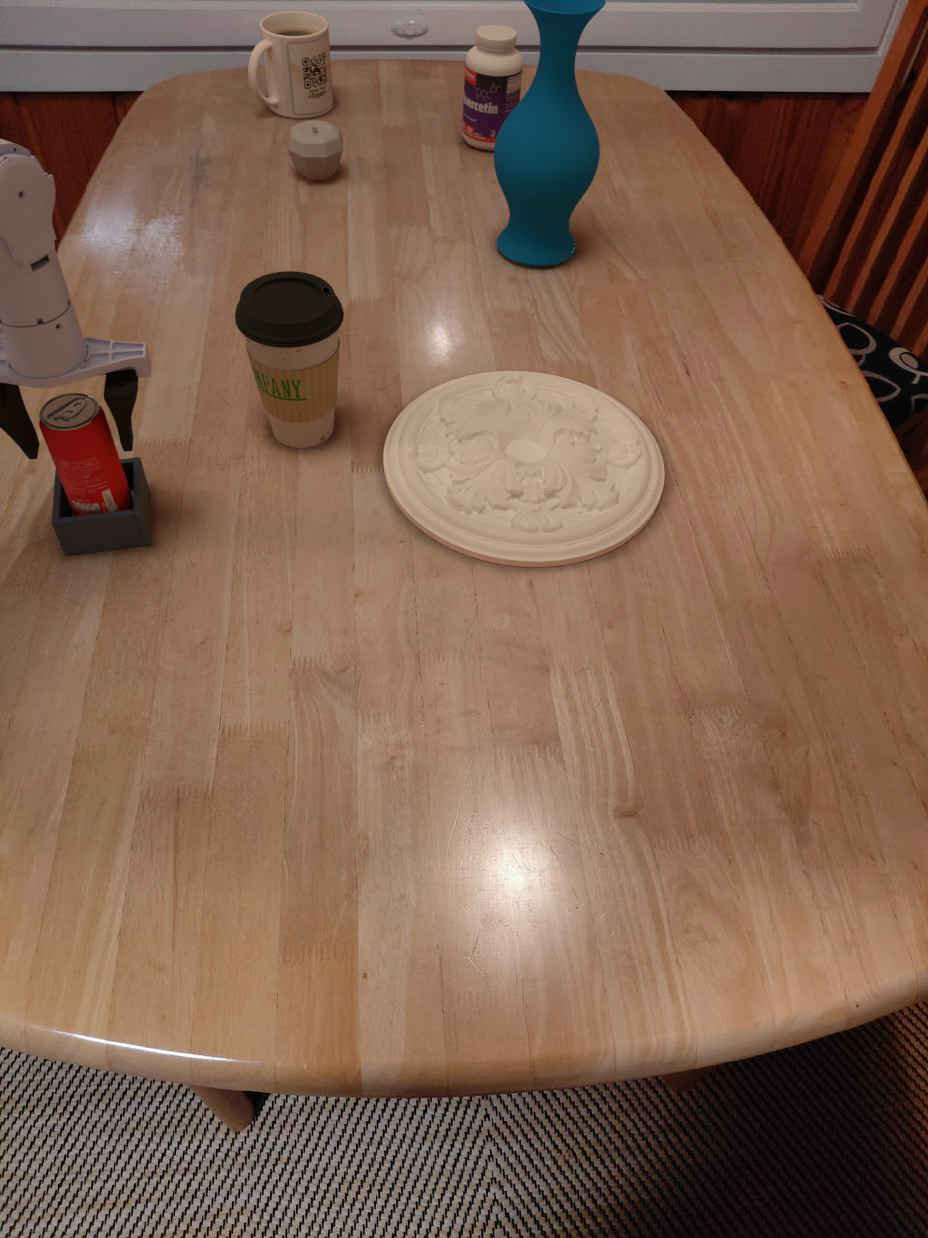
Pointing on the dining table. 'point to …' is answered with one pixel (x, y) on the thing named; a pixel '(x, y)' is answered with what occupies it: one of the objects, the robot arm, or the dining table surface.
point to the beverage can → (84, 454)
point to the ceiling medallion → (523, 468)
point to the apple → (315, 148)
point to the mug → (294, 64)
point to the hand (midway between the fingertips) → (81, 447)
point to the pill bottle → (490, 84)
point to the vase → (548, 142)
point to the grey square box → (105, 518)
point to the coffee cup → (293, 352)
